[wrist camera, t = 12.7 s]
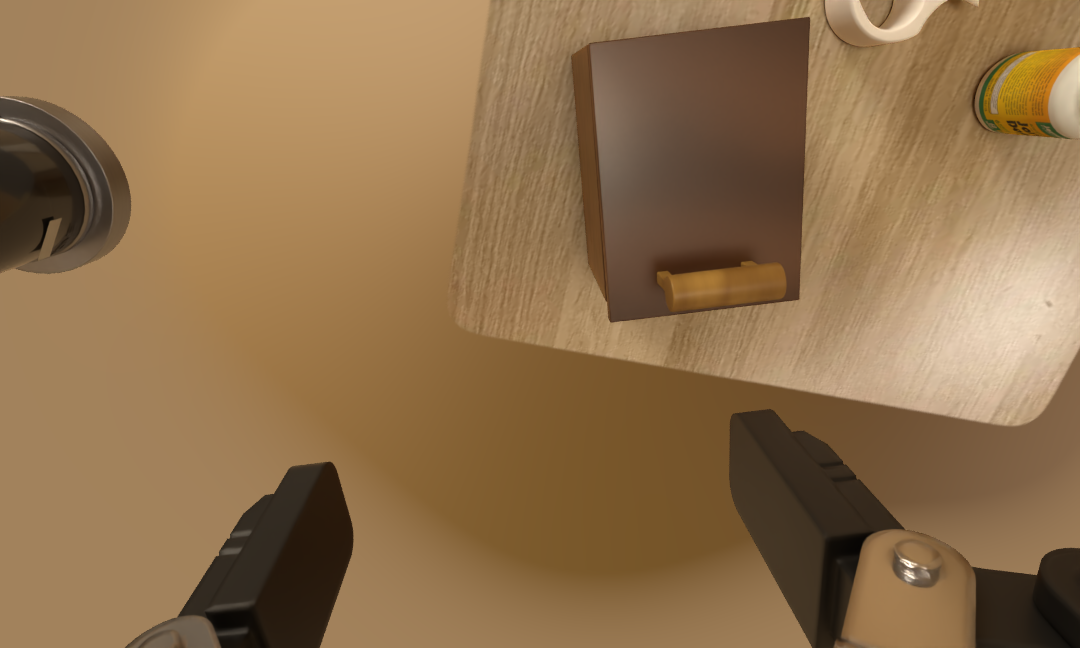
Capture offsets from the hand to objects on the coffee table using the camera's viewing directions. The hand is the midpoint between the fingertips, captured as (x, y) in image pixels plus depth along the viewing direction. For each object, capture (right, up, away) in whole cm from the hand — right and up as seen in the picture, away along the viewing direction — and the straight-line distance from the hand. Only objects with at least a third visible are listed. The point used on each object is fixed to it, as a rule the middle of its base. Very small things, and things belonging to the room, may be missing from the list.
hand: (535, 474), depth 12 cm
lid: (+9, +11, +22) cm, 26 cm away
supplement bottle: (+33, +20, +30) cm, 49 cm away
